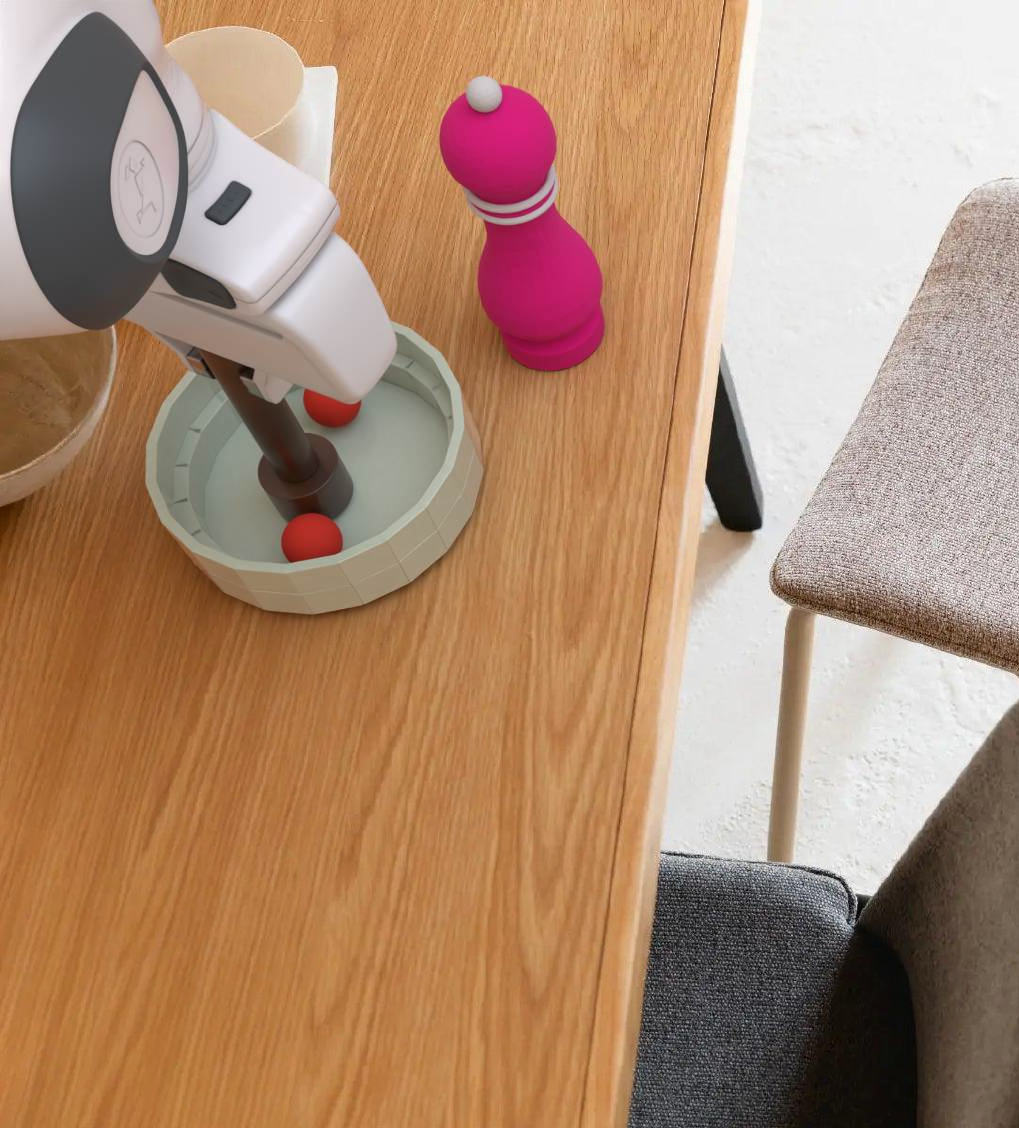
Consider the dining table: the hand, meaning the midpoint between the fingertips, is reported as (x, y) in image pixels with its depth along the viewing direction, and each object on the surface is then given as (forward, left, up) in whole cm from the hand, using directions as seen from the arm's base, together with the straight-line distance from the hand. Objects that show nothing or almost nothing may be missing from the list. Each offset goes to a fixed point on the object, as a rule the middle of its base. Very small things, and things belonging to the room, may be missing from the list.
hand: (243, 378), depth 76 cm
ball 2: (-3, -2, -10) cm, 11 cm away
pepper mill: (+16, -6, -13) cm, 21 cm away
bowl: (+1, 0, -12) cm, 12 cm away
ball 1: (+5, +2, -10) cm, 11 cm away
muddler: (0, 0, -11) cm, 11 cm away
